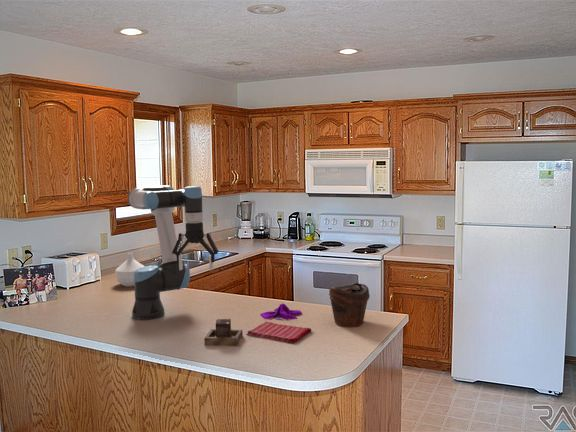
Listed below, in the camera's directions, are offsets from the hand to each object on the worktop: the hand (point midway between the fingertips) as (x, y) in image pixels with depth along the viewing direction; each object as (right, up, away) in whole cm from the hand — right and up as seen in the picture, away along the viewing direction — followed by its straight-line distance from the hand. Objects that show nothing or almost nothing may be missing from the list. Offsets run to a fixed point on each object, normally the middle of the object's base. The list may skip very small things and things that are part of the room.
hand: (196, 269), depth 236 cm
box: (+14, -27, -13) cm, 33 cm away
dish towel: (+37, -28, -5) cm, 46 cm away
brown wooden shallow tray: (+14, -28, -13) cm, 34 cm away
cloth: (+39, -25, +20) cm, 50 cm away
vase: (-53, -18, +84) cm, 101 cm away
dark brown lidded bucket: (+68, -25, +8) cm, 73 cm away
